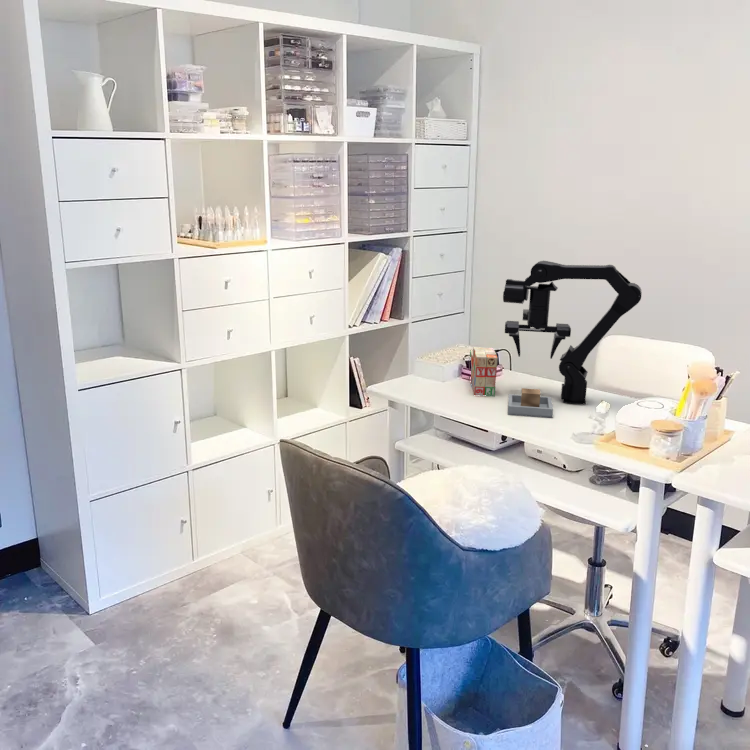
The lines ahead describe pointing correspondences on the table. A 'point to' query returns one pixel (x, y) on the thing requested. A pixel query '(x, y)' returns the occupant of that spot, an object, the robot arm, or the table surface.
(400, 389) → the table surface
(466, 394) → the table surface
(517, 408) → the grey tray
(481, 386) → the stack of blocks
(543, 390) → the table surface
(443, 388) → the table surface
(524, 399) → the walnut cube
